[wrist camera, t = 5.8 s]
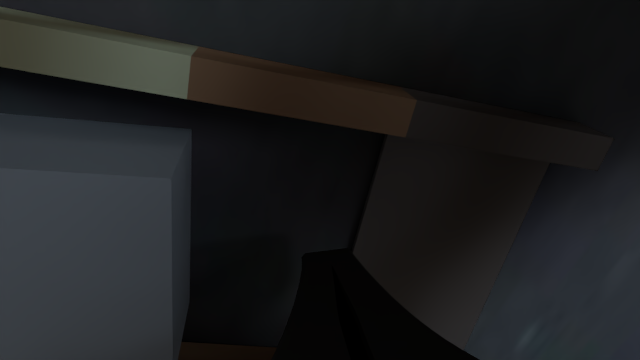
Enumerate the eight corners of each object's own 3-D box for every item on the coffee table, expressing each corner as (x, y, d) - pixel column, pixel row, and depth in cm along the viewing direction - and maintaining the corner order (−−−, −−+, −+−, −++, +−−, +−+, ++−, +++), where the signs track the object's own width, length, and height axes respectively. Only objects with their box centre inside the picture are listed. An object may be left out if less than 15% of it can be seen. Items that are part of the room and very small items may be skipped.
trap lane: (578, 122, 13) (614, 138, 12) (458, 376, 18) (475, 409, 16) (-268, -47, 9) (-360, -52, 8) (-156, 346, 13) (-202, 387, 12)
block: (193, 126, 12) (171, 178, 9) (190, 296, 15) (172, 383, 11) (-49, 106, 11) (-169, 157, 8) (-8, 292, 14) (-87, 388, 10)
